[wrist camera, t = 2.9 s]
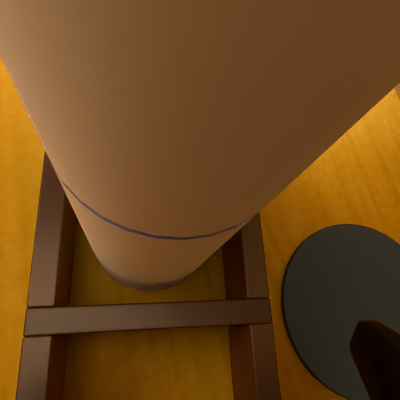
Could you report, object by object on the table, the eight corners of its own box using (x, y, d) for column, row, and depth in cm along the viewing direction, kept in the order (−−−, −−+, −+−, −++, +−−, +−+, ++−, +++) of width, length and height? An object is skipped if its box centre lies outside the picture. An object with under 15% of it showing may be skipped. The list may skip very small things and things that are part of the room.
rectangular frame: (267, 542, 17) (305, 600, 13) (19, 588, 15) (-18, 674, 11) (231, 154, 24) (249, 123, 21) (62, 147, 22) (49, 110, 19)
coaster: (460, 302, 24) (465, 301, 23) (389, 448, 20) (394, 451, 19) (338, 195, 25) (341, 193, 25) (246, 312, 21) (248, 312, 20)
